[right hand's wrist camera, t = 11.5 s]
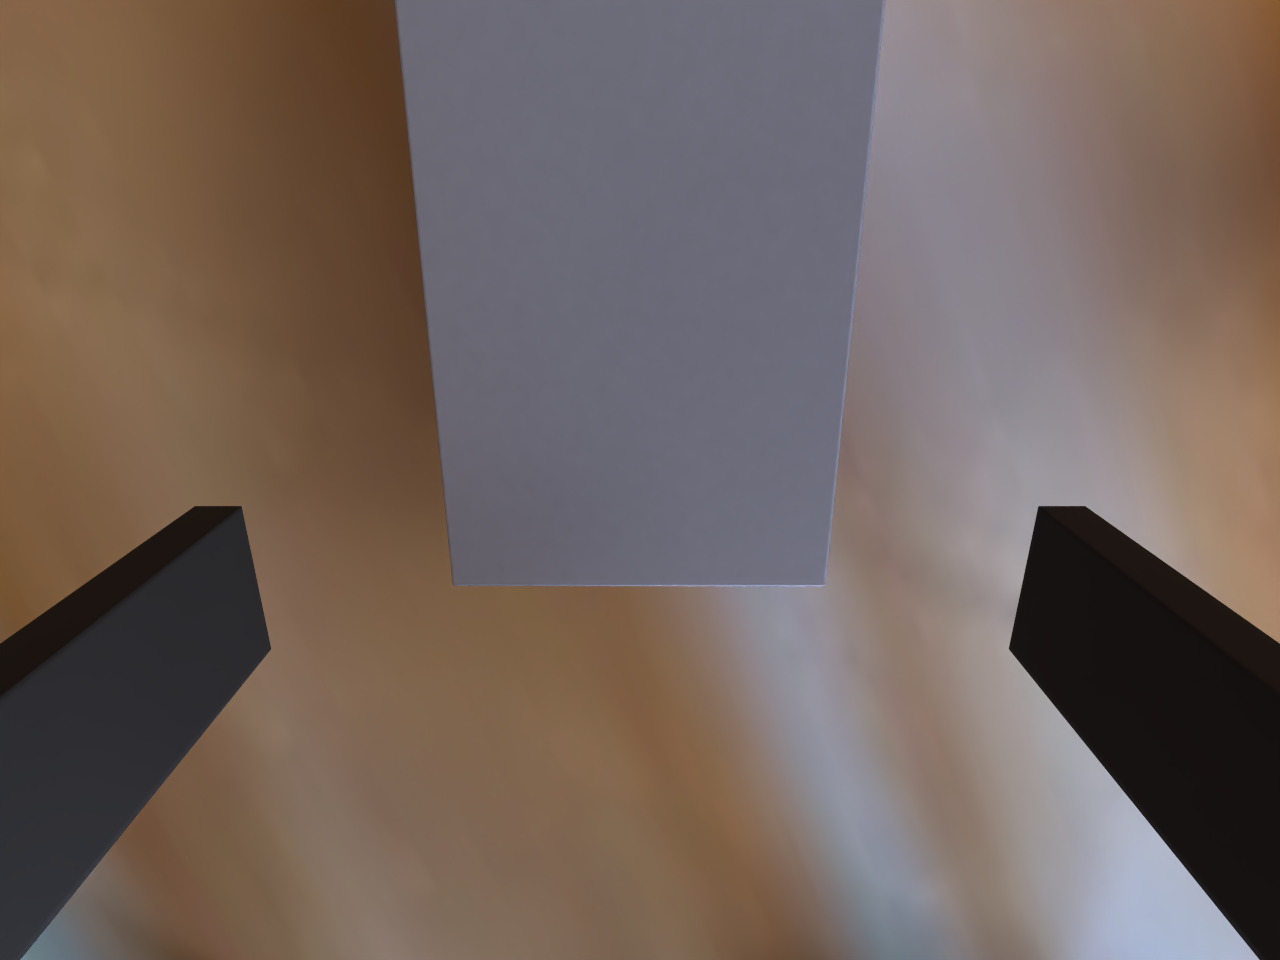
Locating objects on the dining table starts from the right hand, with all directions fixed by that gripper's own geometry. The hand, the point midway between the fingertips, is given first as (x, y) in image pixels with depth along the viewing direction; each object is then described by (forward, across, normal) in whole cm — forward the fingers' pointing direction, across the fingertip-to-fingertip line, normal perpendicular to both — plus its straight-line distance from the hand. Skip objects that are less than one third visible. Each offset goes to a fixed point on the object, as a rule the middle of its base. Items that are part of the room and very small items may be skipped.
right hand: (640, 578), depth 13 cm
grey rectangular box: (+17, 0, -5) cm, 18 cm away
